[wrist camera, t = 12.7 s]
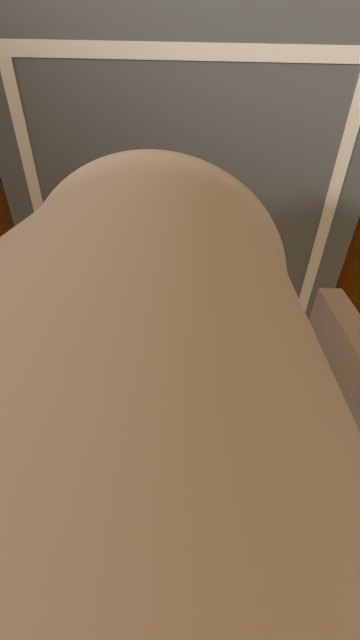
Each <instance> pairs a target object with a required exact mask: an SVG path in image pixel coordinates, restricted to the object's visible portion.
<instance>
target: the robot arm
mask: <svg viewBox="0 0 360 640" xmlns="http://www.w3.org/2000/svg"><path fill="white" fill-rule="evenodd" d="M309 322H310V324H311V326H312V328H313V331H314V333H315V335H316V337H317V339H318V342H319V344H320V346H321V348H322V350H323V352H324V355H325V357H326V359H327V361H328V363H329V366H330V368H331V370H332V372H333V374H334V376H335V379H336V381H337V383H338V385H339V387H340V390H341V392H342V394H343V396H344V398H345V401H346V403H347V405H348V407H349V409H350V411H351V414H352V416H353V418H354V420H355V422H356V425H357V427H358V429H359V431H360V313H359V312H358V311H357V309H356V308H355V306H354V305H353V304H352V302H351V301H350V299H349V298H348V296H347V295H346V294H345V292H344V291H343V289H338V288H318V291H317V295H316V298H315V301H314V304H313V308H312V311H311V314H310V318H309Z"/></svg>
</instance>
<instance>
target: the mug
mask: <svg viewBox="0 0 360 640" xmlns="http://www.w3.org/2000/svg"><path fill="white" fill-rule="evenodd" d="M0 640H360V431H359V429H358V427H357V425H356V422H355V420H354V418H353V416H352V414H351V411H350V409H349V407H348V405H347V403H346V401H345V398H344V396H343V394H342V392H341V390H340V387H339V385H338V383H337V381H336V379H335V376H334V374H333V372H332V370H331V368H330V366H329V363H328V361H327V359H326V357H325V355H324V352H323V350H322V348H321V346H320V344H319V342H318V339H317V337H316V335H315V333H314V331H313V328H312V326H311V324H310V322H309V320H308V318H307V315H306V313H305V311H304V309H303V307H302V304H301V302H300V300H299V298H298V296H297V293H296V291H295V289H294V287H293V285H292V282H291V280H290V278H289V276H288V273H287V265H286V257H285V252H284V248H283V244H282V241H281V238H280V235H279V233H278V230H277V228H276V226H275V224H274V222H273V220H272V218H271V217H270V215H269V213H268V212H267V210H266V209H265V207H264V206H263V205H262V203H261V202H260V201H259V200H258V198H257V197H256V196H255V195H254V194H253V193H252V192H251V191H250V190H249V189H248V188H247V187H246V186H245V185H244V184H243V183H241V182H240V181H239V180H238V179H236V178H235V177H234V176H232V175H231V174H229V173H228V172H226V171H225V170H223V169H221V168H219V167H218V166H216V165H214V164H212V163H210V162H207V161H205V160H203V159H200V158H197V157H194V156H191V155H188V154H184V153H180V152H175V151H169V150H160V149H138V150H128V151H122V152H118V153H114V154H110V155H107V156H104V157H101V158H98V159H96V160H94V161H91V162H89V163H87V164H86V165H84V166H82V167H80V168H79V169H77V170H76V171H74V172H73V173H71V174H70V175H69V176H67V177H66V178H65V179H64V180H63V181H62V182H61V183H59V184H58V185H57V186H56V188H55V189H54V190H53V191H52V192H51V193H50V195H49V196H48V197H47V199H46V200H45V201H44V203H43V204H42V206H41V208H40V209H38V210H37V211H35V212H34V213H33V214H31V215H30V216H29V217H27V218H26V219H24V220H23V221H22V222H20V223H19V224H17V225H16V226H15V227H13V228H12V229H10V230H9V231H8V232H6V233H5V234H3V235H2V236H1V237H0Z"/></svg>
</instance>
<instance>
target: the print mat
mask: <svg viewBox="0 0 360 640" xmlns="http://www.w3.org/2000/svg"><path fill="white" fill-rule="evenodd" d="M138 149H160V150H169V151H175V152H180V153H184V154H188V155H191V156H194V157H197V158H200V159H203V160H205V161H207V162H210V163H212V164H214V165H216V166H218V167H219V168H221V169H223V170H225V171H226V172H228V173H229V174H231V175H232V176H234V177H235V178H236V179H238V180H239V181H240V182H241V183H243V184H244V185H245V186H246V187H247V188H248V189H249V190H250V191H251V192H252V193H253V194H254V195H255V196H256V197H257V198H258V200H259V201H260V202H261V203H262V205H263V206H264V207H265V209H266V210H267V212H268V213H269V215H270V217H271V218H272V220H273V222H274V224H275V226H276V228H277V230H278V233H279V235H280V238H281V241H282V244H283V248H284V252H285V257H286V265H287V273H288V276H289V278H290V280H291V282H292V285H293V287H294V289H295V291H296V293H297V296H298V298H299V300H300V302H301V304H302V307H303V309H304V311H305V313H306V315H307V318H308V320H309V318H310V314H311V311H312V308H313V304H314V301H315V298H316V295H317V291H318V288H335V287H336V285H337V282H338V279H339V276H340V273H341V270H342V267H343V264H344V261H345V258H346V255H347V252H348V249H349V246H350V243H351V240H352V237H353V234H354V231H355V228H356V225H357V222H358V219H359V217H360V0H0V177H1V181H2V184H3V188H4V191H5V195H6V198H7V202H8V206H9V209H10V213H11V216H12V220H13V223H14V227H15V226H16V225H17V224H19V223H20V222H22V221H23V220H24V219H26V218H27V217H29V216H30V215H31V214H33V213H34V212H35V211H37V210H38V209H40V208H41V206H42V204H43V203H44V201H45V200H46V199H47V197H48V196H49V195H50V193H51V192H52V191H53V190H54V189H55V188H56V186H57V185H58V184H59V183H61V182H62V181H63V180H64V179H65V178H66V177H67V176H69V175H70V174H71V173H73V172H74V171H76V170H77V169H79V168H80V167H82V166H84V165H86V164H87V163H89V162H91V161H94V160H96V159H98V158H101V157H104V156H107V155H110V154H114V153H118V152H122V151H128V150H138Z"/></svg>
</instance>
